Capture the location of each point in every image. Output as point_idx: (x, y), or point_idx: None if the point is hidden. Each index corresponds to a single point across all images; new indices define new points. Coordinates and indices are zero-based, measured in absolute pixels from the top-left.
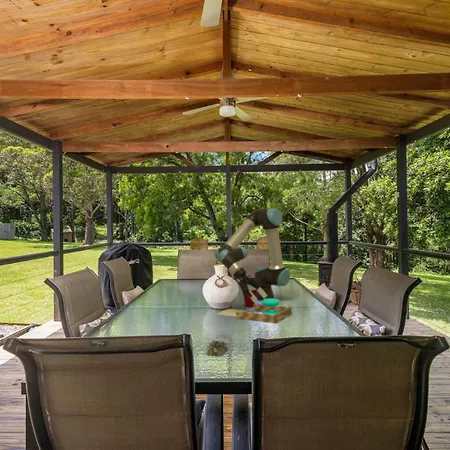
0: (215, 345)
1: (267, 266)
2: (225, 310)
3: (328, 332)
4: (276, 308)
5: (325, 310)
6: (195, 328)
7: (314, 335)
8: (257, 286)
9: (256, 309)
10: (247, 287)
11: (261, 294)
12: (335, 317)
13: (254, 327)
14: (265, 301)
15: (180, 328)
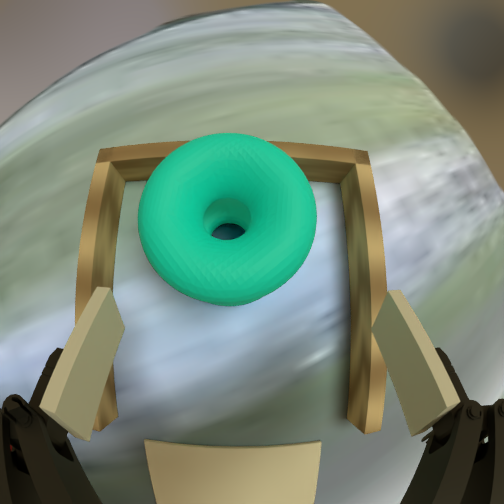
0: None
1: None
2: None
3: (345, 34)
4: (101, 247)
5: (43, 100)
6: None
7: (393, 59)
8: (57, 454)
9: (110, 400)
10: (459, 463)
11: (105, 364)
12: (146, 40)
13: (450, 240)
14: (309, 231)
15: None
